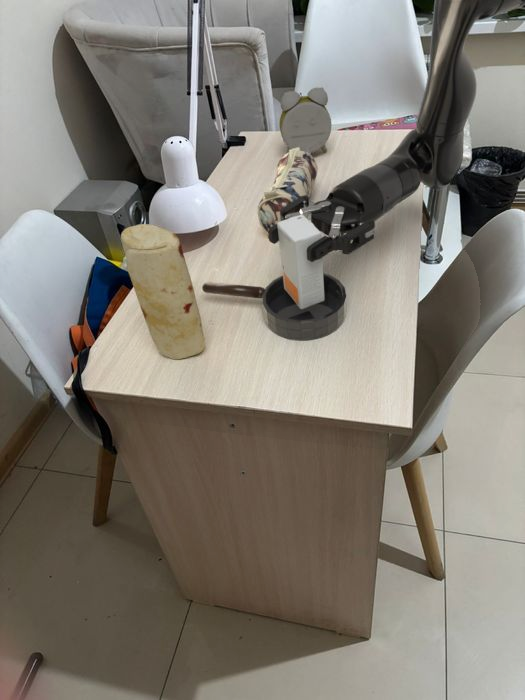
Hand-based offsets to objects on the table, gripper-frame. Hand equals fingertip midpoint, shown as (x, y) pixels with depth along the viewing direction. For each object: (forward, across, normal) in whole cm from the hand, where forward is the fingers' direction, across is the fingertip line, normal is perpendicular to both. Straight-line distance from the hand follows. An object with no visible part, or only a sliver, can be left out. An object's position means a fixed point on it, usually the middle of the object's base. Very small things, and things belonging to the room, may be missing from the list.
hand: (289, 246), depth 71 cm
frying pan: (-2, 0, +13) cm, 14 cm away
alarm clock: (-45, -40, +14) cm, 62 cm away
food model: (+16, -9, +13) cm, 23 cm away
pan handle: (+4, -10, +11) cm, 15 cm away
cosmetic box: (-2, 0, +10) cm, 10 cm away
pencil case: (-24, -24, +14) cm, 37 cm away
